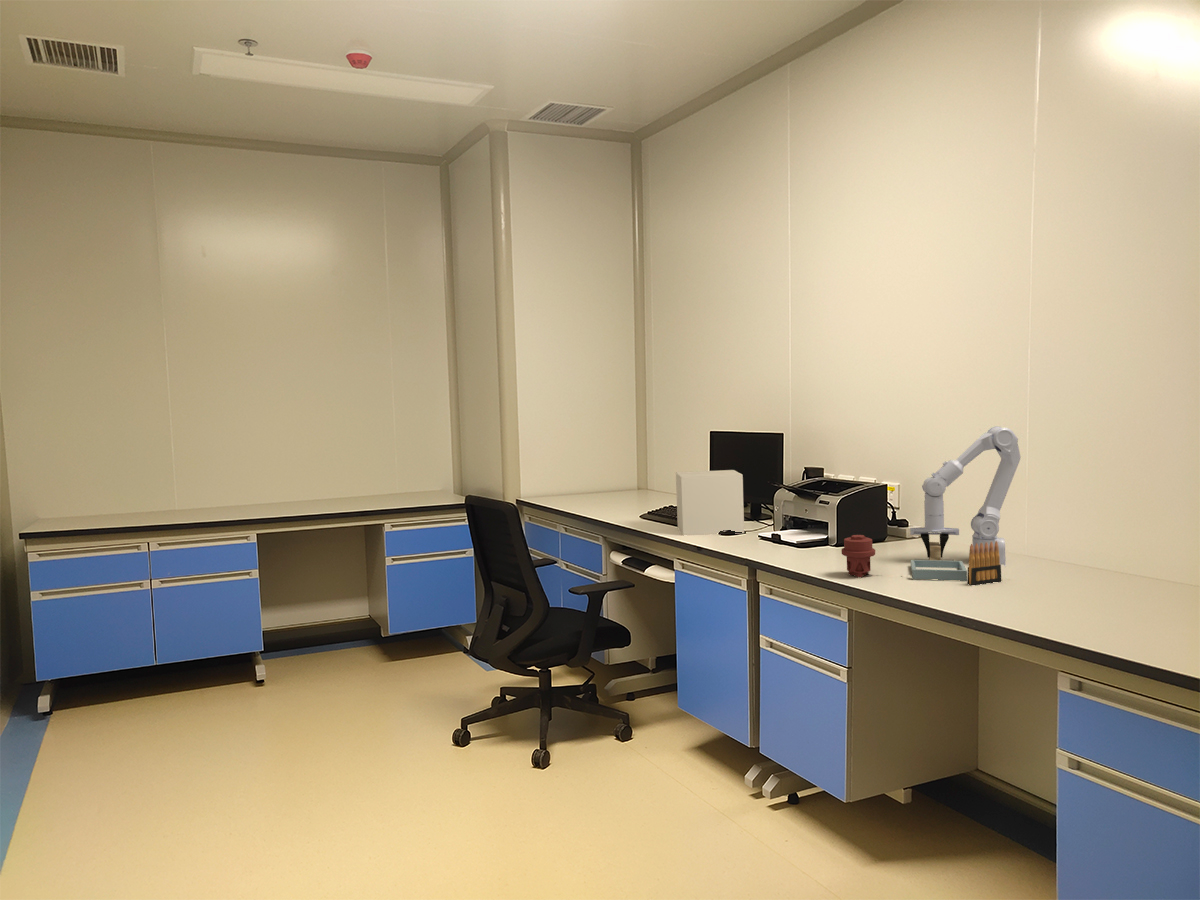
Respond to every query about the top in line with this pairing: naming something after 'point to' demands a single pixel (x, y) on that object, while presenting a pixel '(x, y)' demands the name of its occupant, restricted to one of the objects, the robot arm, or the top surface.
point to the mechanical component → (858, 554)
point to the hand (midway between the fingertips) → (934, 557)
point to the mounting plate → (941, 559)
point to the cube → (709, 502)
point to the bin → (938, 574)
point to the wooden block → (935, 551)
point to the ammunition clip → (984, 564)
